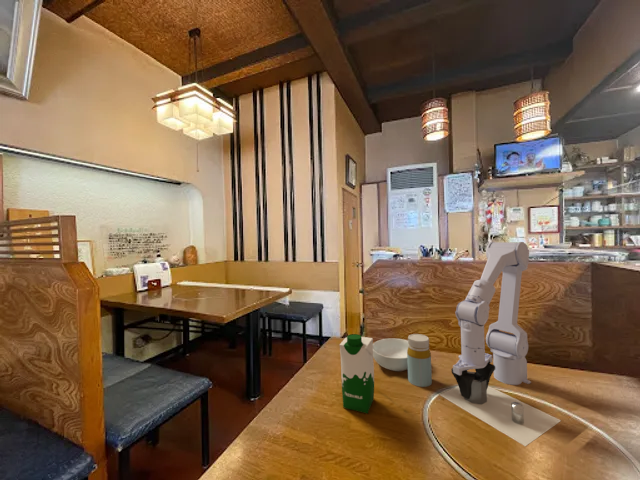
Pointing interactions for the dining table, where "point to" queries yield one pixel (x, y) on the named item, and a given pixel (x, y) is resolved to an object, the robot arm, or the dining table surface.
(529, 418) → the board
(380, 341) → the cereal bowl
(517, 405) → the cylinder
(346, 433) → the dining table surface
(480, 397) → the gray faceted cup
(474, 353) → the robot arm
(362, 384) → the milk carton
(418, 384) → the bottle
